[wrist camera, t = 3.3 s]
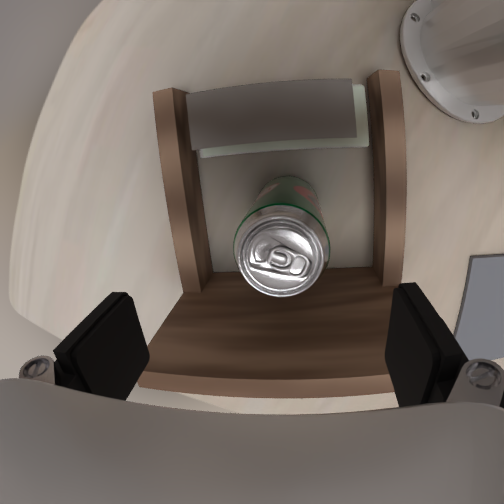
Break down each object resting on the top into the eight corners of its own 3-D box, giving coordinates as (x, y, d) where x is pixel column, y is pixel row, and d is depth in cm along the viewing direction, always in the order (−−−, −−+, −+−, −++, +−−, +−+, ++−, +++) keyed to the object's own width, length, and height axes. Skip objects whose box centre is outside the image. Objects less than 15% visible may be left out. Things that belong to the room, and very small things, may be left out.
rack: (172, 96, 24) (67, 77, 11) (384, 79, 21) (464, 35, 8) (199, 287, 30) (139, 386, 18) (387, 280, 27) (437, 385, 15)
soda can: (269, 166, 25) (246, 192, 14) (327, 188, 25) (349, 231, 14) (250, 221, 27) (216, 284, 16) (305, 241, 27) (308, 317, 16)
